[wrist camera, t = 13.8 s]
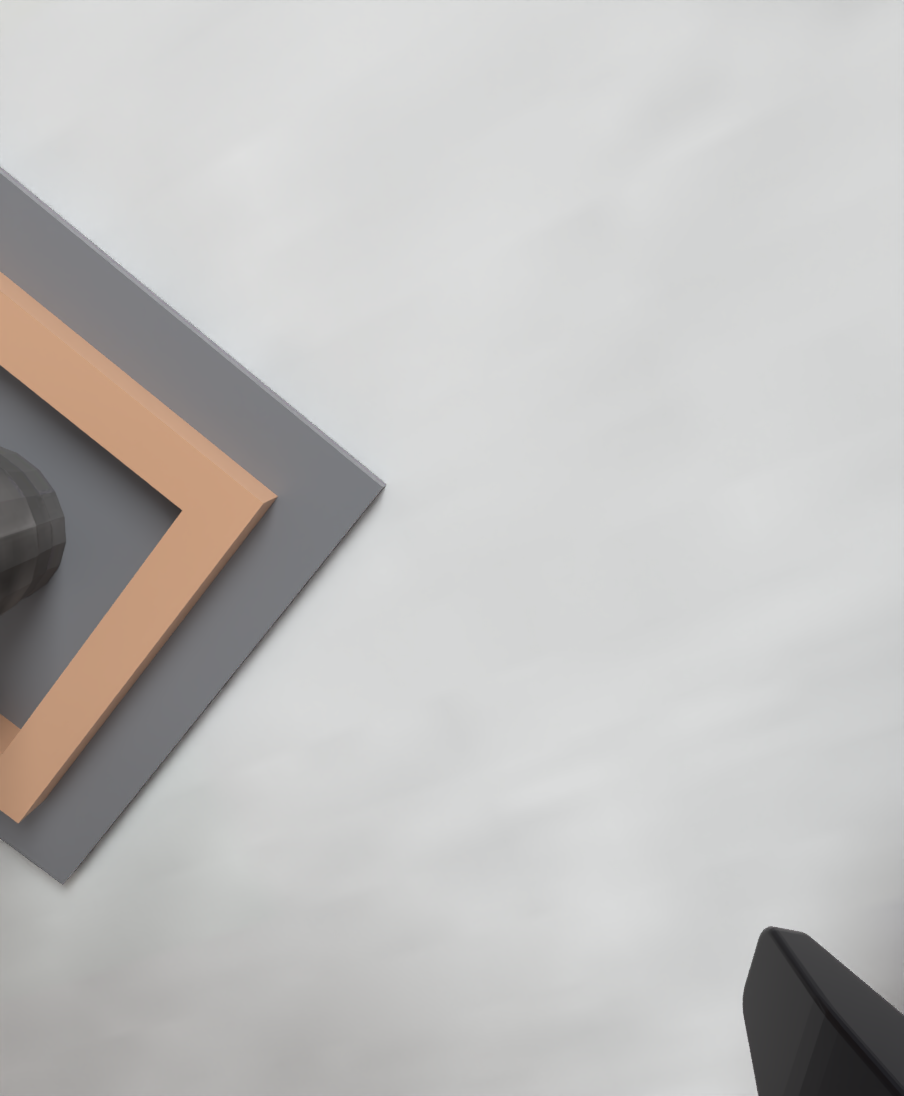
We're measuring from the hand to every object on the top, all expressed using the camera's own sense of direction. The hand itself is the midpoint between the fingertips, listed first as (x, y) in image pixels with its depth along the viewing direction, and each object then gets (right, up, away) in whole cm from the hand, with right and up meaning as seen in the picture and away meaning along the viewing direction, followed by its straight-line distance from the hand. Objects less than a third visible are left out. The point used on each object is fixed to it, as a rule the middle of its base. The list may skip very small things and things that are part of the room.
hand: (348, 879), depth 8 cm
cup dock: (-12, +4, +13) cm, 18 cm away
